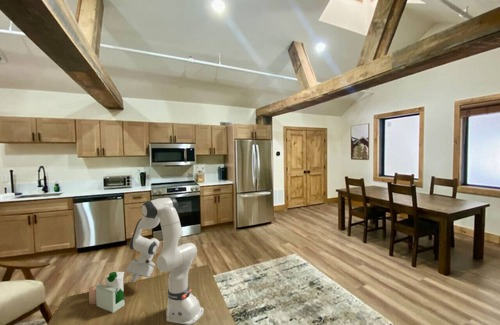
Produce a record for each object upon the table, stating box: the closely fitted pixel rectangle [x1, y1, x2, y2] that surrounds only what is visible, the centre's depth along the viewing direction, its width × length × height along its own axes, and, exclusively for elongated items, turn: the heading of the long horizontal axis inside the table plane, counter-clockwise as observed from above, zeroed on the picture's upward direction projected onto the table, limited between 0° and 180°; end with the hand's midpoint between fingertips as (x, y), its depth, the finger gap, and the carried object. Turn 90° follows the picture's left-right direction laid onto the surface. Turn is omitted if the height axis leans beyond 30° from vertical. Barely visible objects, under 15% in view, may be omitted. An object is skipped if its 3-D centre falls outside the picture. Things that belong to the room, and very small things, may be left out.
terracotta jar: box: [88, 284, 97, 305], centre depth 144 cm, size 6×6×9 cm
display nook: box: [95, 283, 125, 314], centre depth 140 cm, size 15×8×13 cm, turn 67°
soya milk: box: [104, 271, 125, 304], centre depth 143 cm, size 9×9×20 cm
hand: (132, 281), depth 155 cm, fingers closed
